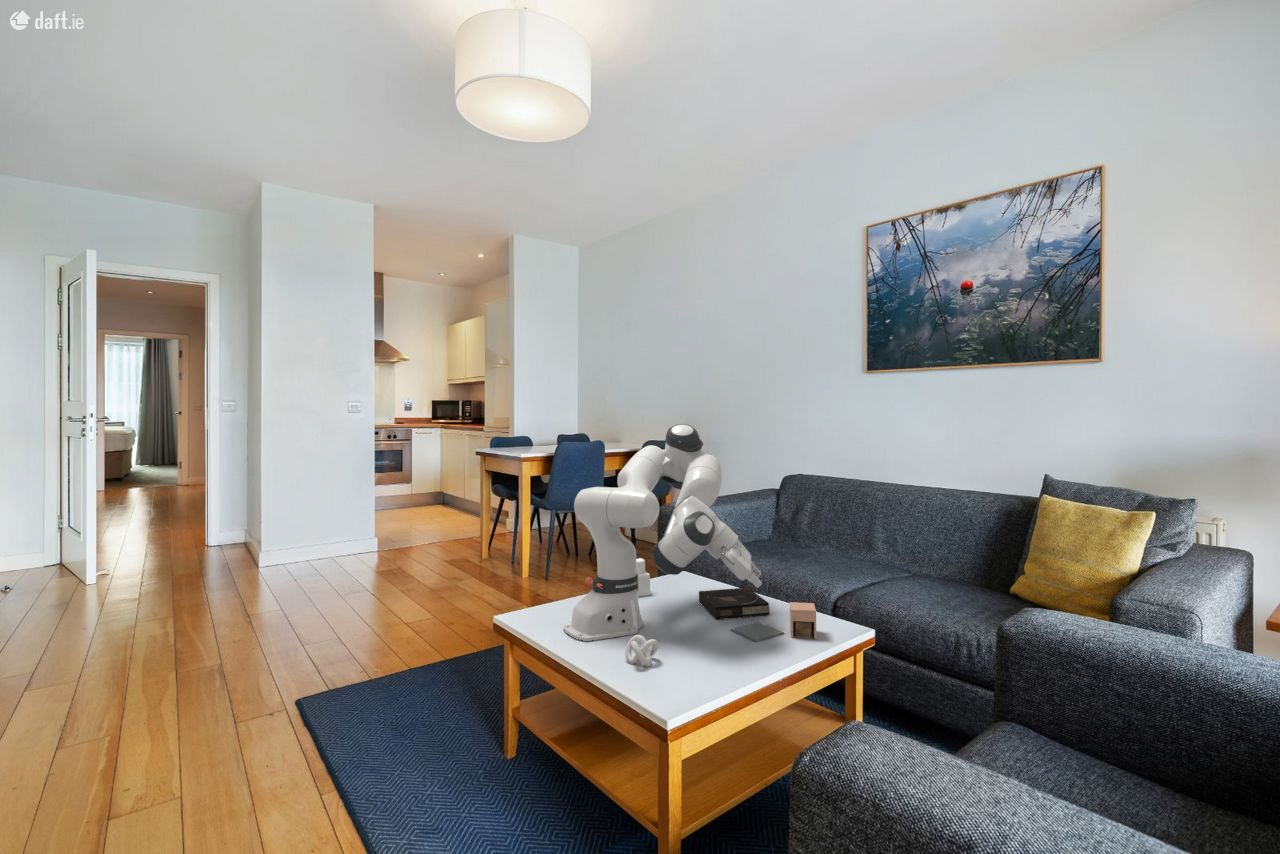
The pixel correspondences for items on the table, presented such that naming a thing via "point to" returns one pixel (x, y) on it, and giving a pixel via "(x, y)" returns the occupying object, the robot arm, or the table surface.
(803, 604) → the tan square arch
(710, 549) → the robot arm
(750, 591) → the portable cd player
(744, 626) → the slate mat
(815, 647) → the table surface
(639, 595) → the white block with cylinder
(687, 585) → the table surface
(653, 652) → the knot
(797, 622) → the walnut block
